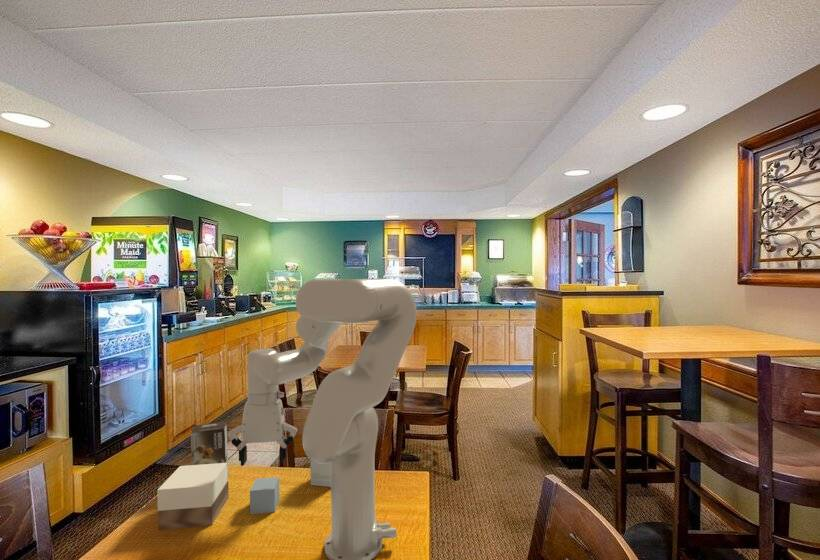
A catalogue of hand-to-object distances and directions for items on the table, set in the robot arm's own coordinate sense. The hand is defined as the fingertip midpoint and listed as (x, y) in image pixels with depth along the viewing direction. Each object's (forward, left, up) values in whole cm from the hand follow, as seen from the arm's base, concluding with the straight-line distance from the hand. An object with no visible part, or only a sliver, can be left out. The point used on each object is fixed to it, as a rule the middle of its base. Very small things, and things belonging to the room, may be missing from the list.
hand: (263, 462), depth 103 cm
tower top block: (+17, +1, -7) cm, 18 cm away
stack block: (0, 0, -11) cm, 11 cm away
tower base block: (+16, +1, -12) cm, 20 cm away
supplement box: (-15, -11, -12) cm, 22 cm away
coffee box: (+19, -16, -12) cm, 27 cm away
